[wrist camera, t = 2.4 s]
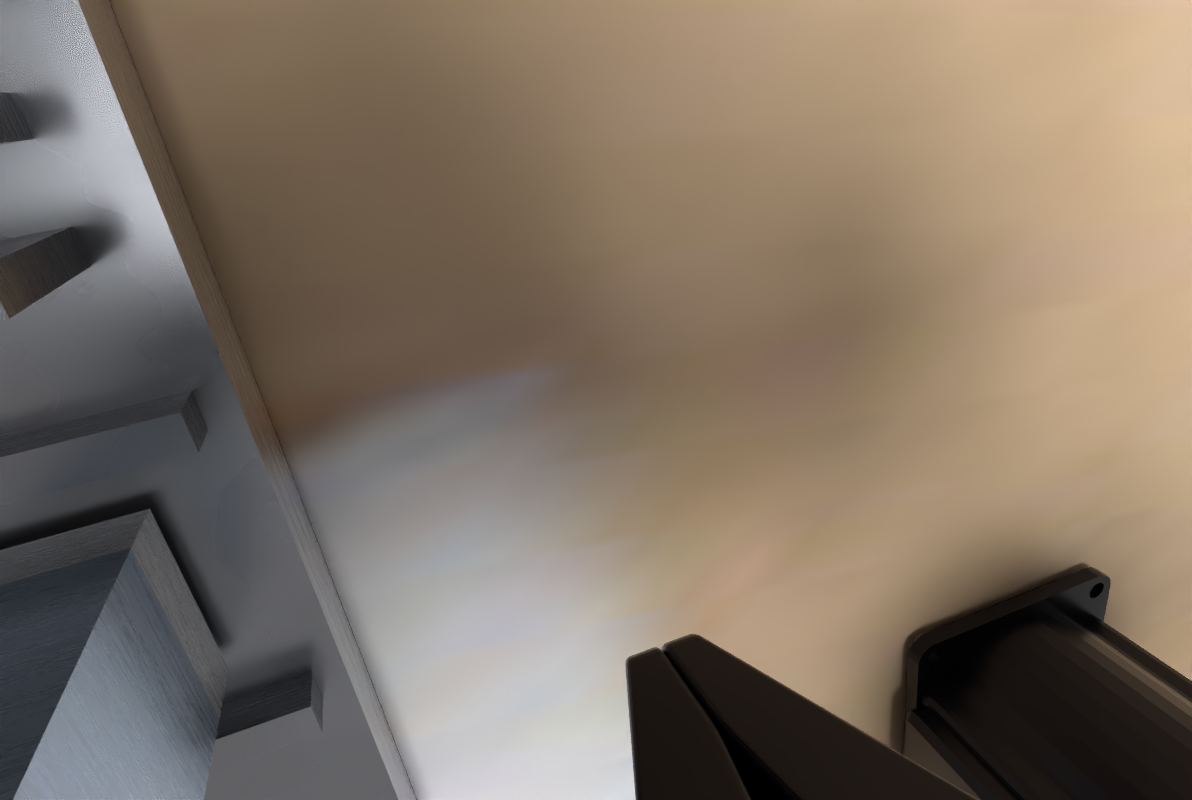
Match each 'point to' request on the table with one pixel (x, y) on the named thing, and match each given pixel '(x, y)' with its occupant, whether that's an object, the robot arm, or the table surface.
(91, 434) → the heatsink
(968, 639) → the robot arm
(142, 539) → the grey block
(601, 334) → the table surface
